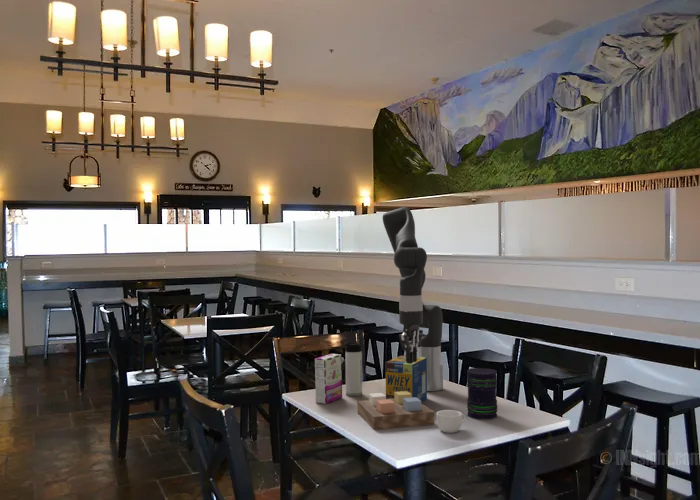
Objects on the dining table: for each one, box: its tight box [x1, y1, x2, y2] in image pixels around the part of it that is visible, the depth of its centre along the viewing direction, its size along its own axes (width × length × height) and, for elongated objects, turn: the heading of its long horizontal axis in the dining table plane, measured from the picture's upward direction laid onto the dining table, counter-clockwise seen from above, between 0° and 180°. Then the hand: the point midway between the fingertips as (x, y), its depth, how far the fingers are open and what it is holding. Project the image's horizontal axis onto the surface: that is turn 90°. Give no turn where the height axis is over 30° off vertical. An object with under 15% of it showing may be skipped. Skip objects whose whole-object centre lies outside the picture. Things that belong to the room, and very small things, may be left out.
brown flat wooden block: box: [356, 397, 435, 431], centre depth 199 cm, size 20×20×4 cm
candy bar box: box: [314, 353, 343, 405], centre depth 223 cm, size 11×5×16 cm, turn 148°
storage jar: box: [466, 367, 498, 421], centre depth 201 cm, size 10×10×15 cm
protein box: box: [385, 354, 428, 403], centre depth 220 cm, size 10×15×16 cm
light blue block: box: [403, 397, 422, 411], centre depth 195 cm, size 5×5×4 cm
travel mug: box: [344, 342, 363, 397], centre depth 231 cm, size 6×7×20 cm
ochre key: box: [394, 391, 412, 404], centre depth 204 cm, size 5×5×4 cm
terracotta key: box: [376, 399, 395, 414], centre depth 193 cm, size 5×5×4 cm
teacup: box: [436, 409, 466, 434], centre depth 185 cm, size 10×8×5 cm
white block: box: [368, 392, 386, 406], centre depth 202 cm, size 5×5×4 cm
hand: (411, 362), depth 195 cm, fingers closed
